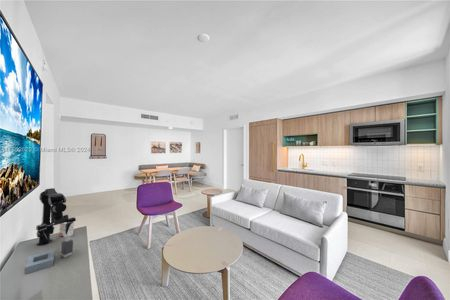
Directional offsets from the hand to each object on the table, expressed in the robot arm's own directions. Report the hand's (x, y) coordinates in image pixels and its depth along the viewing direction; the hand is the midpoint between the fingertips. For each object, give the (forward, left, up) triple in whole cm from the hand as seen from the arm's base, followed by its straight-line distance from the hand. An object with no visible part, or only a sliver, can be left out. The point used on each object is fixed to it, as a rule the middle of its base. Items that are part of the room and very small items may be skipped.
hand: (57, 236), depth 117 cm
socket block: (+4, -6, -15) cm, 17 cm away
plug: (-5, +3, -15) cm, 17 cm away
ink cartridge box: (-36, -13, -16) cm, 42 cm away
